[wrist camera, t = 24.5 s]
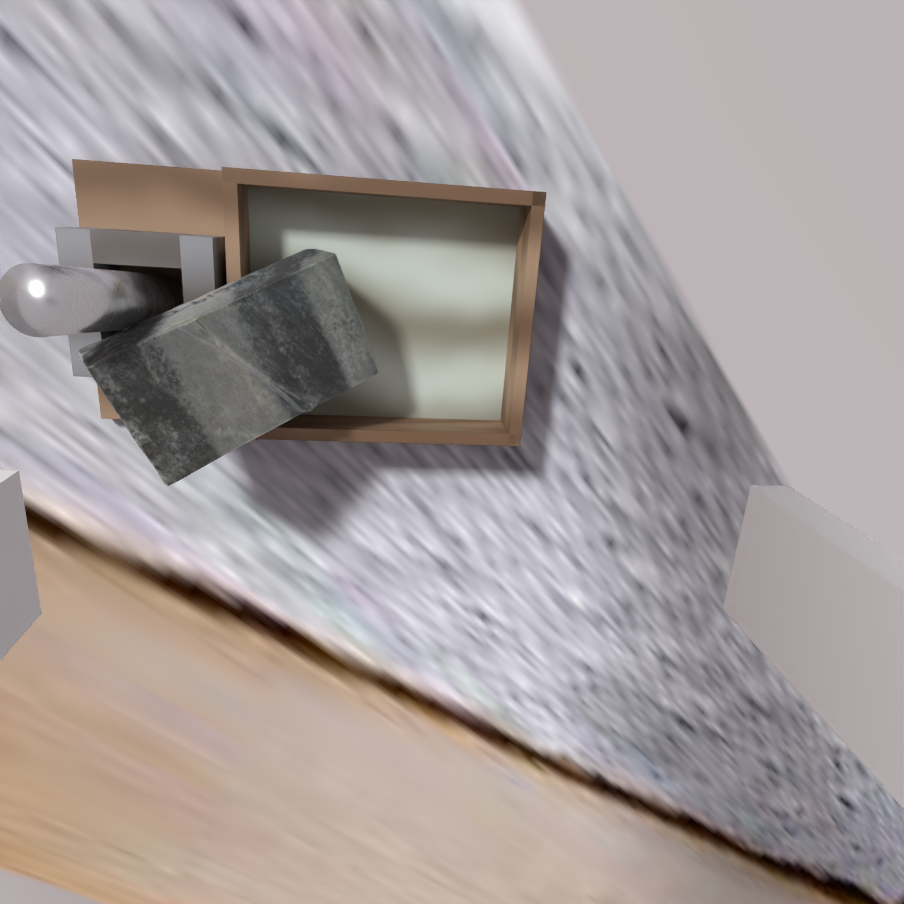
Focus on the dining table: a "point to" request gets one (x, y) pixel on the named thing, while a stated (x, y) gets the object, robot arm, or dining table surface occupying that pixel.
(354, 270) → the board
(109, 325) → the rod
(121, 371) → the stone block
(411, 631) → the dining table surface
